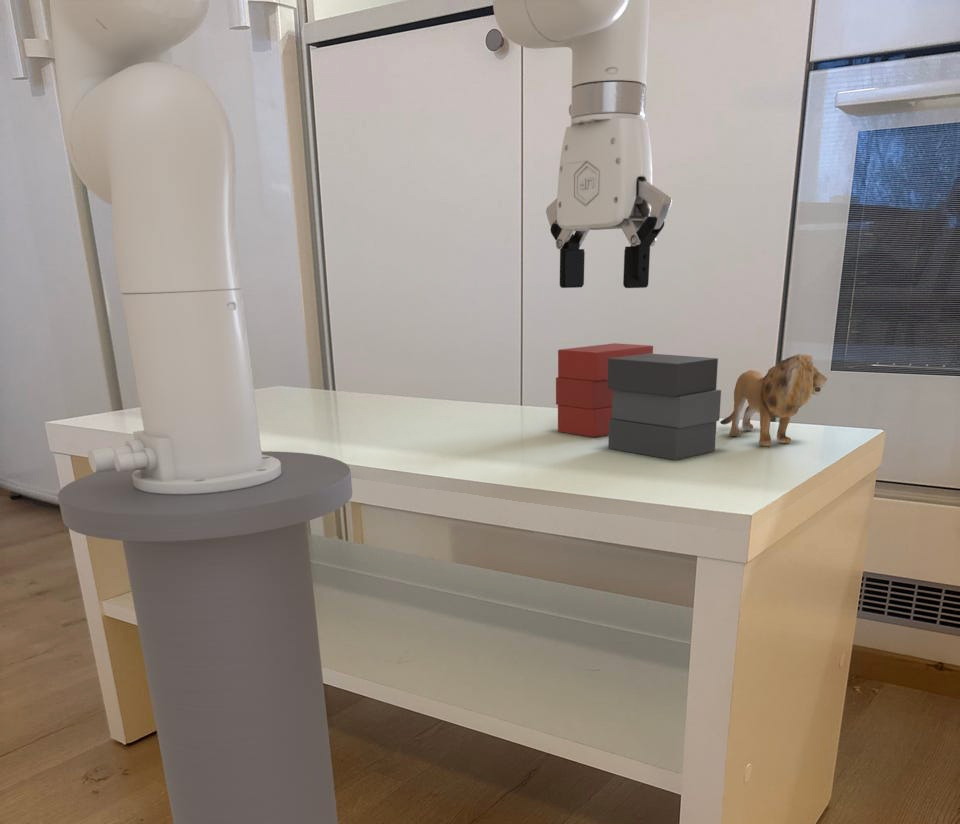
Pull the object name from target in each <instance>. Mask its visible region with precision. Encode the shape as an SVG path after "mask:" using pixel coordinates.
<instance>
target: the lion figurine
mask: <svg viewBox="0 0 960 824" xmlns="http://www.w3.org/2000/svg"><path fill="white" fill-rule="evenodd" d="M827 380H828V377H827V376H825V375H824V374H822V373H821V372H820V371H819V370H818V368H817V367H816V366H814V362H813V356H812V355H808V354H805V353H804V354H802V353H797V354H795V355H793V356H789V357H787V358H785V359H782V360H781V361H779V363H777V364H776V365H774V366H772V367H769V369H768V371H767V373H766V374H765V376H764V374H763V373H762V372H761V371H758V370H753V369H748V370H747V371H745V372H743V373H742V374H740V375H739V376H738V377H737V380H736V383H735V385H734V389H733V411H732V413H731V414H730V415H728V416H727V417H725V418H723V419H722V420H721V421H720V422H719V424H721V425H728V424H731V427H730V430H729V436H731V437H735V436H736V437H737V436H740V435H741V430H740V428H739V424H740V420H741V419H740V418H741V417H740V416H741V412H742V411H743V409H744V405H745V403H746V401H747V404H748V405H747V407H746V408H745V410H744V413H743V418H742V423H741V427H742V429H743V430H745V431H747V430H748V431H751V430H754V424H752V423H751V419H752V417H753V416H754V414H755V413H757V414H759V427H760V429H759V441H758V445H759V446H761V447H770V446H772V437H771V434H770V429H771V421H772V418H777V419H779V420H778V421H779V422H778V426H777V432H776V441H777V442H778V443H780V444H789V443H791V442H792V438H791V437H790V436H787V435H786V433H787V429H788V427H789V424H790V420H791V417H793V416H795V415H797V414H798V411H799V409H800V408H801V407H802V406H804V405H806V404H807V403H809V401H810V400H811V398H812V395H813V396H817V397H818V396H819V395H820V394H821V389H822V388H824V387H825V385H826V382H827Z"/></svg>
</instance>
